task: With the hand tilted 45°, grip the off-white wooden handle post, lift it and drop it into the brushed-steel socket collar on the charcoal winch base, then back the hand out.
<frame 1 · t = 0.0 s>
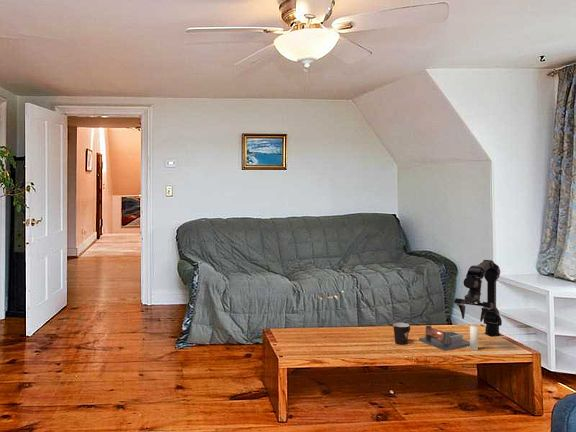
hand: (471, 320, 269), 15 cm above the table, tool pointing down, fingers open, 9 cm apart
coffee mug: (403, 343, 282), on the table
handle post: (473, 349, 270), on the table
winch base: (451, 342, 283), on the table
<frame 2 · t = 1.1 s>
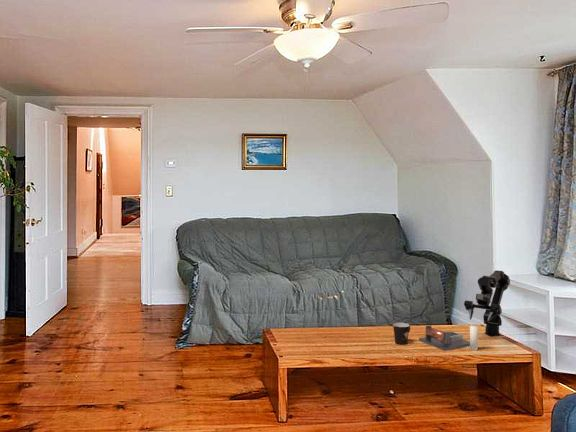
hand: (478, 320, 276), 14 cm above the table, tool tilted 45°, fingers open, 9 cm apart
nothing on the table moved.
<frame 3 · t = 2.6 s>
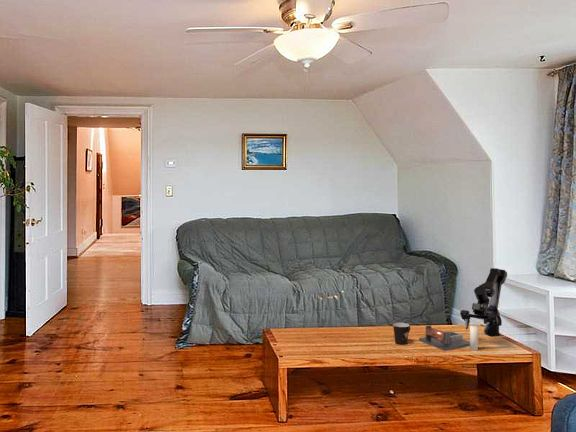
hand: (475, 330, 271), 9 cm above the table, tool tilted 45°, fingers open, 9 cm apart
nothing on the table moved.
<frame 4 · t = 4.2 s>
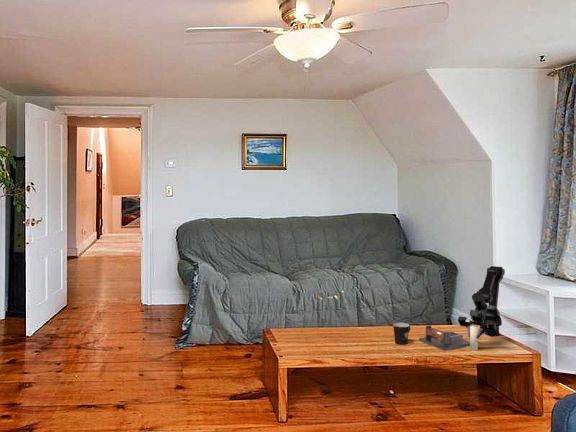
hand: (473, 337, 269), 7 cm above the table, tool tilted 45°, fingers closed on handle post, 4 cm apart
handle post: (473, 349, 270), on the table, touching gripper
everything else where it was.
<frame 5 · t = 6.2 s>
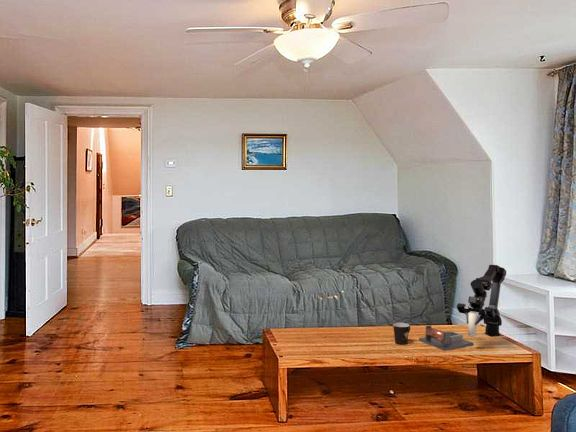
hand: (471, 323, 269), 13 cm above the table, tool tilted 45°, fingers closed on handle post, 4 cm apart
handle post: (472, 335, 271), point 7 cm above the table, touching gripper
everything else where it was.
when the fingers open (10 cm above the table, at t = 8.6 s): handle post drops 1 cm, resting on winch base.
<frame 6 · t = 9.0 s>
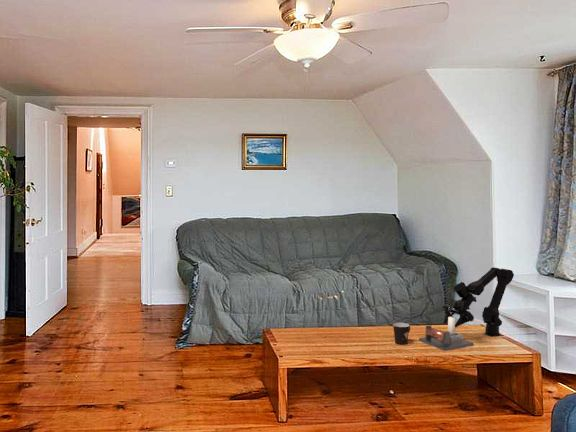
hand: (449, 325, 282), 10 cm above the table, tool tilted 45°, fingers open, 8 cm apart
handle post: (451, 339, 283), point 2 cm above the table, touching winch base
everything else where it was.
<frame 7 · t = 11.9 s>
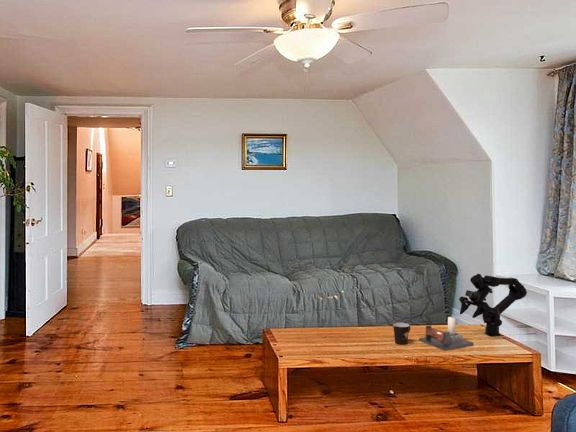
hand: (466, 315, 287), 13 cm above the table, tool tilted 45°, fingers open, 9 cm apart
nothing on the table moved.
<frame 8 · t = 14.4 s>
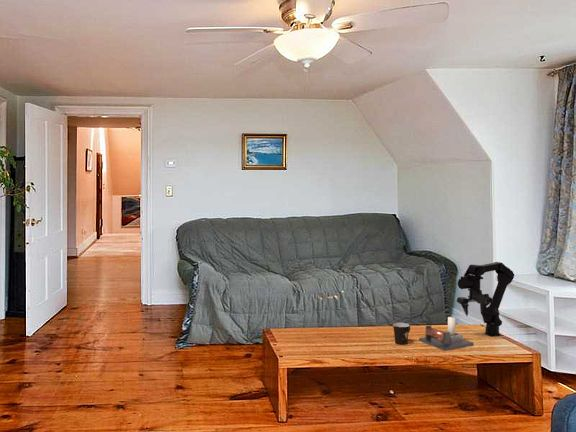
hand: (474, 315, 289), 13 cm above the table, tool pointing down, fingers open, 9 cm apart
nothing on the table moved.
at the end: handle post 0.0 cm off-centre on the winch base, point 1.5 cm above the winch base's base; handle post tilted 0°; the gripper is holding nothing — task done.
